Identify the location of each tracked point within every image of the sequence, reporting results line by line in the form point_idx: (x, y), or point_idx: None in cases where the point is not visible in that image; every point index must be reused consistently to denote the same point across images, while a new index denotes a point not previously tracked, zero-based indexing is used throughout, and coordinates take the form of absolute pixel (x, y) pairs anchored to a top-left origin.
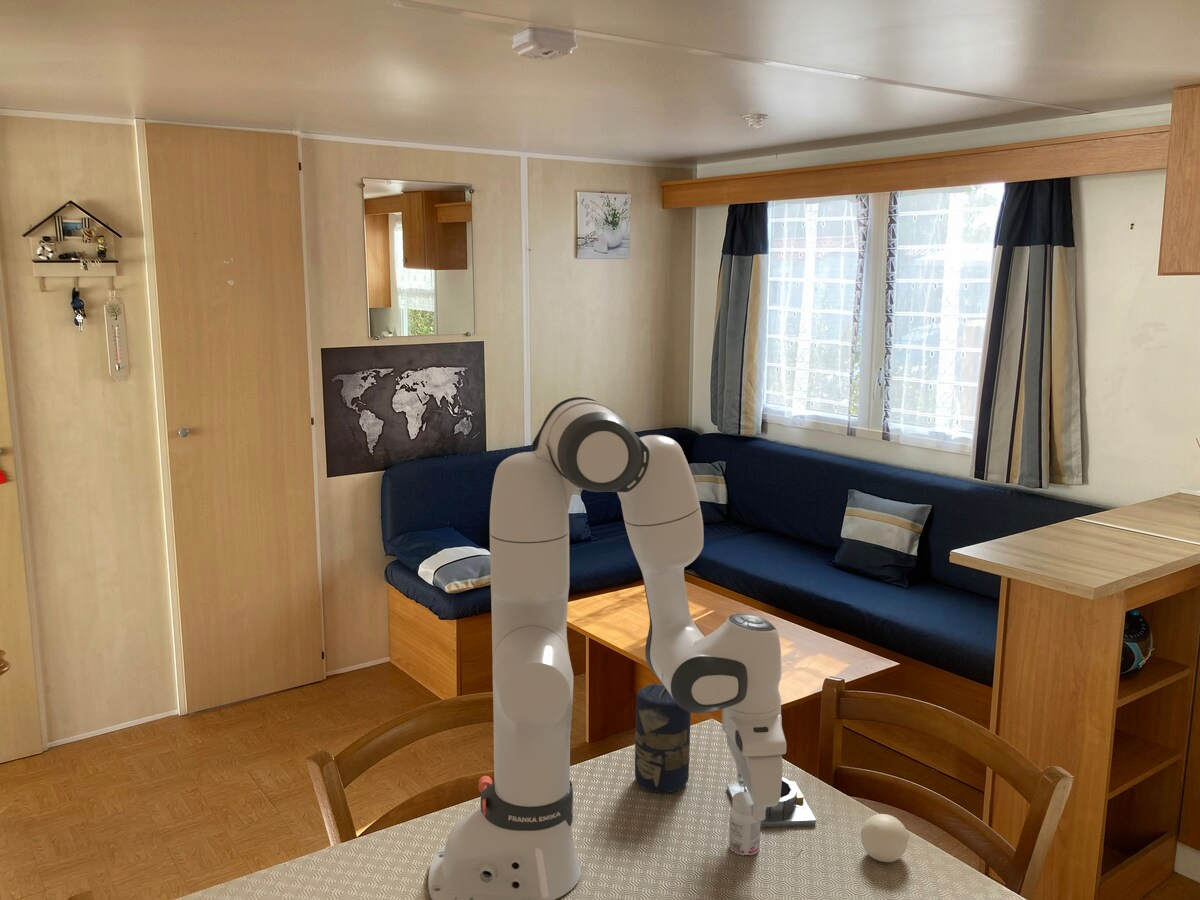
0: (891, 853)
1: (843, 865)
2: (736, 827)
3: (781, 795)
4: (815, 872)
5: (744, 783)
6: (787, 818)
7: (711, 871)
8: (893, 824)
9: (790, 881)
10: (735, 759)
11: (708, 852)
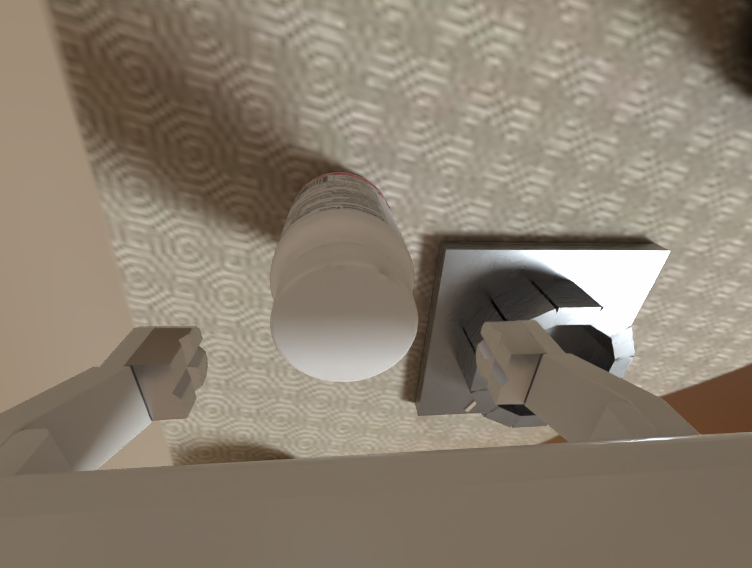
0: None
1: (256, 420)
2: (294, 218)
3: None
4: (223, 368)
5: (491, 350)
6: (439, 364)
7: (190, 55)
8: None
9: (172, 308)
10: (561, 497)
11: (320, 78)
